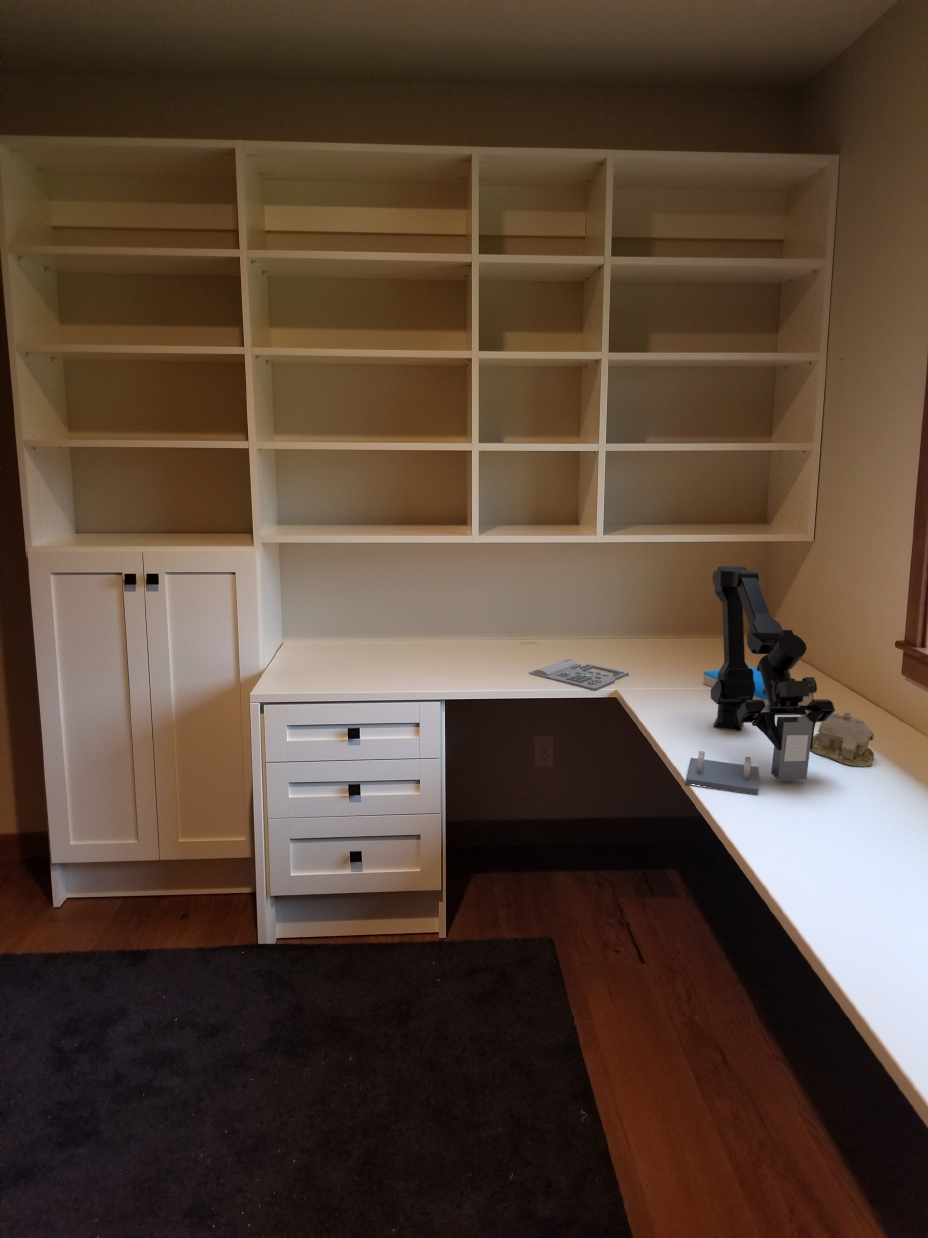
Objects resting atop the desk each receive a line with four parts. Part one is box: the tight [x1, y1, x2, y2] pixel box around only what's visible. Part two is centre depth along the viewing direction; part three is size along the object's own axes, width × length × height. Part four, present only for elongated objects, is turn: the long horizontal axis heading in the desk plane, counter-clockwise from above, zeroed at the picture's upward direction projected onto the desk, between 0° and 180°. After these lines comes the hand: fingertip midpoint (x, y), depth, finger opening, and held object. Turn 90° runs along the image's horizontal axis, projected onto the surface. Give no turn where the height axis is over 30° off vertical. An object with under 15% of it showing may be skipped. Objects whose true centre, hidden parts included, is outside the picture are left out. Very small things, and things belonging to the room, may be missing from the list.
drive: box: [770, 716, 813, 781], centre depth 170 cm, size 3×6×12 cm, turn 94°
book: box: [702, 665, 814, 706], centre depth 230 cm, size 17×4×25 cm
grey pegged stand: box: [685, 750, 760, 795], centre depth 173 cm, size 12×14×5 cm
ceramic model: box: [810, 712, 875, 767], centre depth 186 cm, size 14×11×10 cm
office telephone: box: [528, 659, 630, 692], centre depth 245 cm, size 23×3×20 cm
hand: (795, 749), depth 169 cm, fingers closed on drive, 6 cm apart
